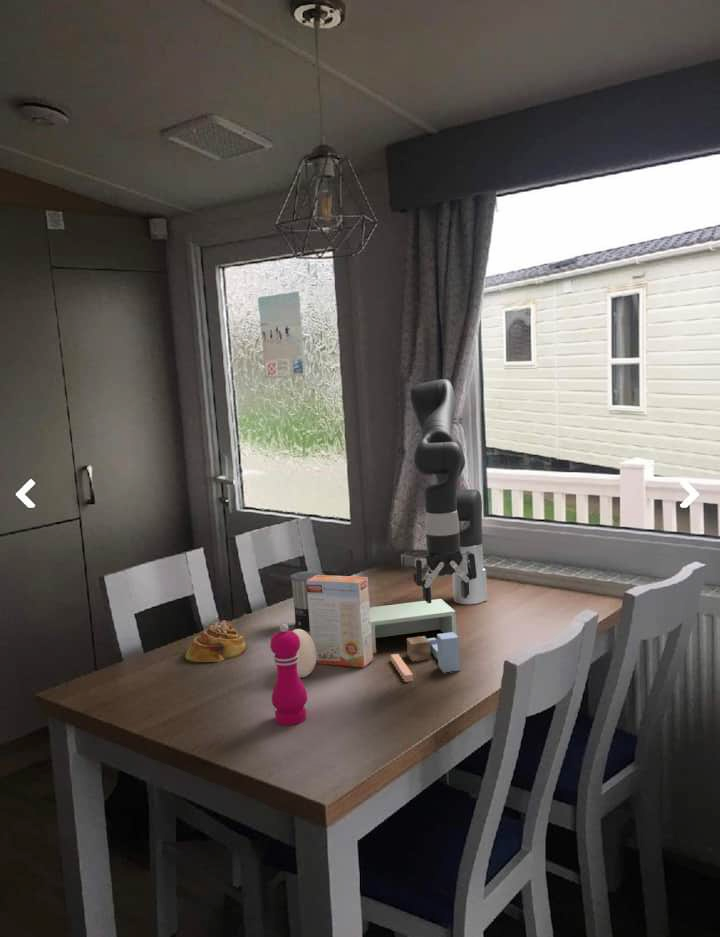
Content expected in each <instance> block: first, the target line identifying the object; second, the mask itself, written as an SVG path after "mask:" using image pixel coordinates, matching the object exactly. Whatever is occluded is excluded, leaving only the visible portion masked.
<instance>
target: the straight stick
mask: <svg viewBox="0 0 720 937" xmlns="http://www.w3.org/2000/svg"><path fill="white" fill-rule="evenodd" d="M391 661H392V662H391ZM390 662H391V663H392V665H393V664H394V665H393V666H394V668H395V667H396V668H395V669H396V671H397V670H398V671H397V672H398V674H399V673H400V674H399V675H400V677H401V676H402V677H401V678H402V680H403V679H404V680H403V682H404V681H405V682H408V681H413V682H414V675H413V673H412V671H411V669H410V668H409V667H408V666H407V664H406V663H405V662H404V660H403V659H402V657H401V656H400V654H399V653H393V654H392V653H391V654H390ZM405 682H404V683H405ZM408 683H409V682H408Z"/></svg>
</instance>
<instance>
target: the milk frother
mask: <svg viewBox="0 0 720 937" xmlns="http://www.w3.org/2000/svg"><path fill="white" fill-rule="evenodd" d="M315 575H325V574H324V572H323V571H319V570H318V571H317V570H308V571H300V572H296V573H292V574H291V575H290V579H291V587H292V596H293V607H294V608H293V609H294V623H295V624H294V630H295V629H302V630H304V631H306V632H310V624H309V610H308V596H307V582H306V581H307V580H308V579H310V578H312V577H314V576H315Z"/></svg>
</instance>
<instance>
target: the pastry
mask: <svg viewBox="0 0 720 937" xmlns="http://www.w3.org/2000/svg"><path fill="white" fill-rule="evenodd" d="M246 649H248V648H247V644H246V642H245V638H244V636H243V635H239V633H238V632H237V630H236V629H235V628H234V627H233V625H232V624H231V623H230V622H229V621H227V620H221V621H217V622H215V623H213V624H211V625H210V626H209V627H208V629H207V628H206V629H205V630H203V631H202V632H200V633H198V634H197V636H196V637H195V638H193V639H192V641H191V644H190V646H189V647H188V649H187V651H186V653H185V655H184V656H185V657H184V658H186V659H187V660H186V659H185V660H186V661H188V660H190V661H189V662H192V661H195V662H194V663H196V662H217V663H220V662H219V661H221V662H223V661H224V660H227V658H228V659H232V657H233V658H237V657H239V656H241V655H244V654H245V653H246V651H247V650H246ZM222 660H223V661H222Z"/></svg>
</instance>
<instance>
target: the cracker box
mask: <svg viewBox="0 0 720 937" xmlns="http://www.w3.org/2000/svg"><path fill="white" fill-rule="evenodd" d="M306 582H307V596H308V610H309V624H310V631H309V635H310V636H311V638H312V640H313V642H314V644H315V647H316V653H317V659H316V664H322V665H331V666H341V667H353V668H365V667H367V666H368V665H369V664H370V663H371V662H372V661H373V660H374V653H373V649H372V634H371V620H370V606H371V605H370V594H369V580H368V576H355V575H354V576H351V575H327V574H324V575H315V576H314V577H312V578H310V579H308V580H307V581H306Z"/></svg>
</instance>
